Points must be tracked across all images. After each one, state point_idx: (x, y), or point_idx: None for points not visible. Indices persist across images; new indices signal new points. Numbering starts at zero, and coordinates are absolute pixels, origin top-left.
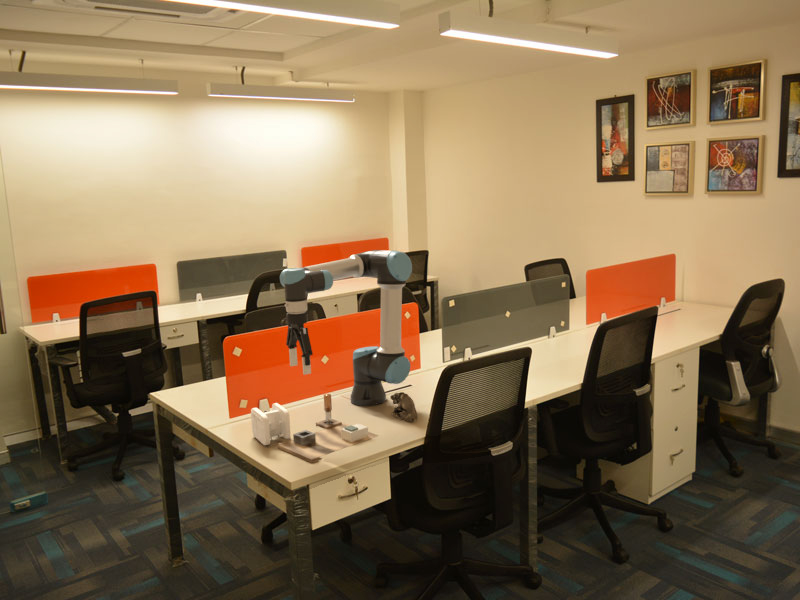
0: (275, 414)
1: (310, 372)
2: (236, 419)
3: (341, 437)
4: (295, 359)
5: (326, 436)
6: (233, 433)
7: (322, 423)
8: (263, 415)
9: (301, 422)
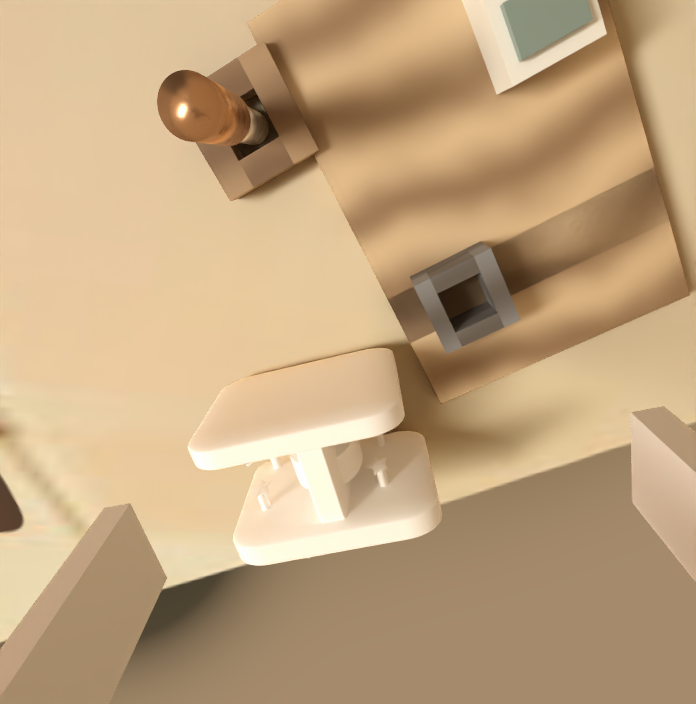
0: (332, 456)
1: (675, 423)
2: (45, 511)
3: (498, 93)
4: (95, 596)
5: (430, 174)
6: (213, 529)
7: (251, 165)
8: (407, 531)
9: (136, 260)
